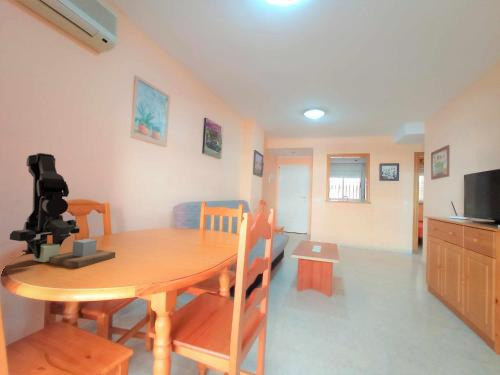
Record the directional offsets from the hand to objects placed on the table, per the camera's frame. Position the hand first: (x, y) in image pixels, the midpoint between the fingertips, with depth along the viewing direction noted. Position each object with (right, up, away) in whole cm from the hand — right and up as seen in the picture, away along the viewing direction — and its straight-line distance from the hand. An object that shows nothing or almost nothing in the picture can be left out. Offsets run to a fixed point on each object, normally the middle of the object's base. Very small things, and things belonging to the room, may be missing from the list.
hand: (46, 256), depth 81 cm
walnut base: (+11, -2, +3) cm, 12 cm away
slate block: (+11, 0, +3) cm, 12 cm away
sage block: (0, -1, 0) cm, 1 cm away
